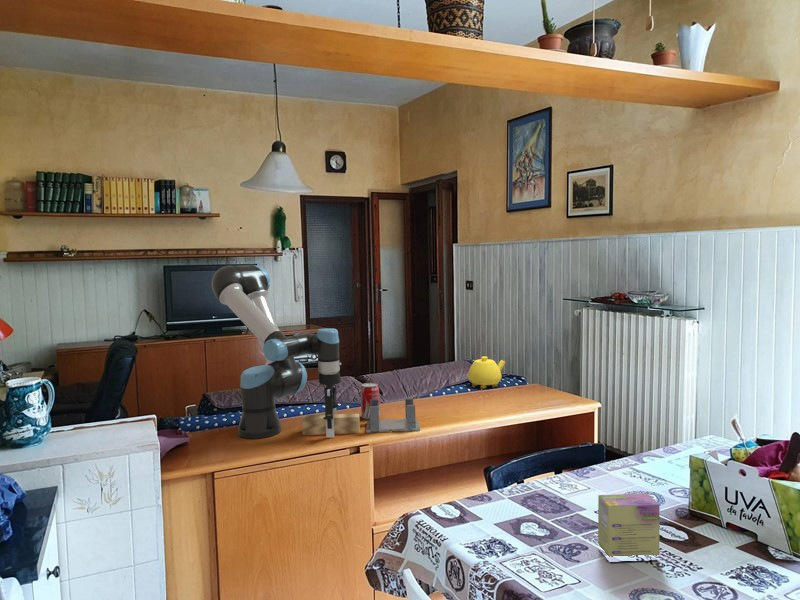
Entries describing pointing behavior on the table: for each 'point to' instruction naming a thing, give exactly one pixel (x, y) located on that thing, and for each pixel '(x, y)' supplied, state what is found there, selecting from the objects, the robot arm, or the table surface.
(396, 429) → the bracket mount
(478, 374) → the teapot
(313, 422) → the rail
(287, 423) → the table surface
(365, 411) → the soda can
